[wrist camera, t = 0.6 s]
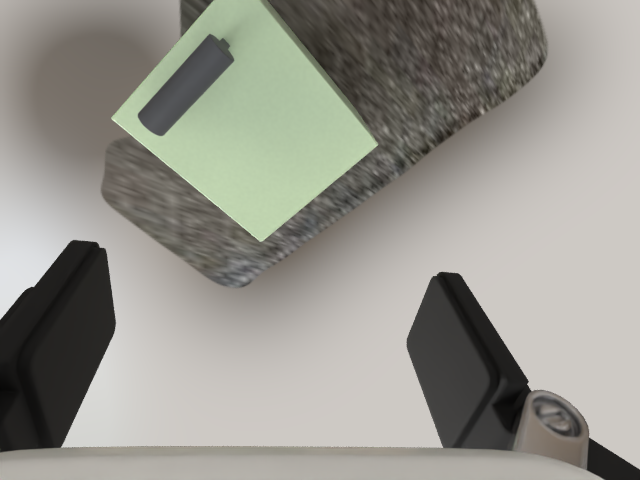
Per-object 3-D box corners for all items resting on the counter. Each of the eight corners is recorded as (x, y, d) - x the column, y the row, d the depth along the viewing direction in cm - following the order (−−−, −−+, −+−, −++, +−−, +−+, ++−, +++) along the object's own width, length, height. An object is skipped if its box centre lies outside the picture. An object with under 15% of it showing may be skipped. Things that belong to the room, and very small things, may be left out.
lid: (114, 115, 30) (85, 139, 25) (238, -27, 26) (230, -29, 21) (261, 237, 37) (259, 273, 33) (376, 141, 33) (393, 166, 28)
